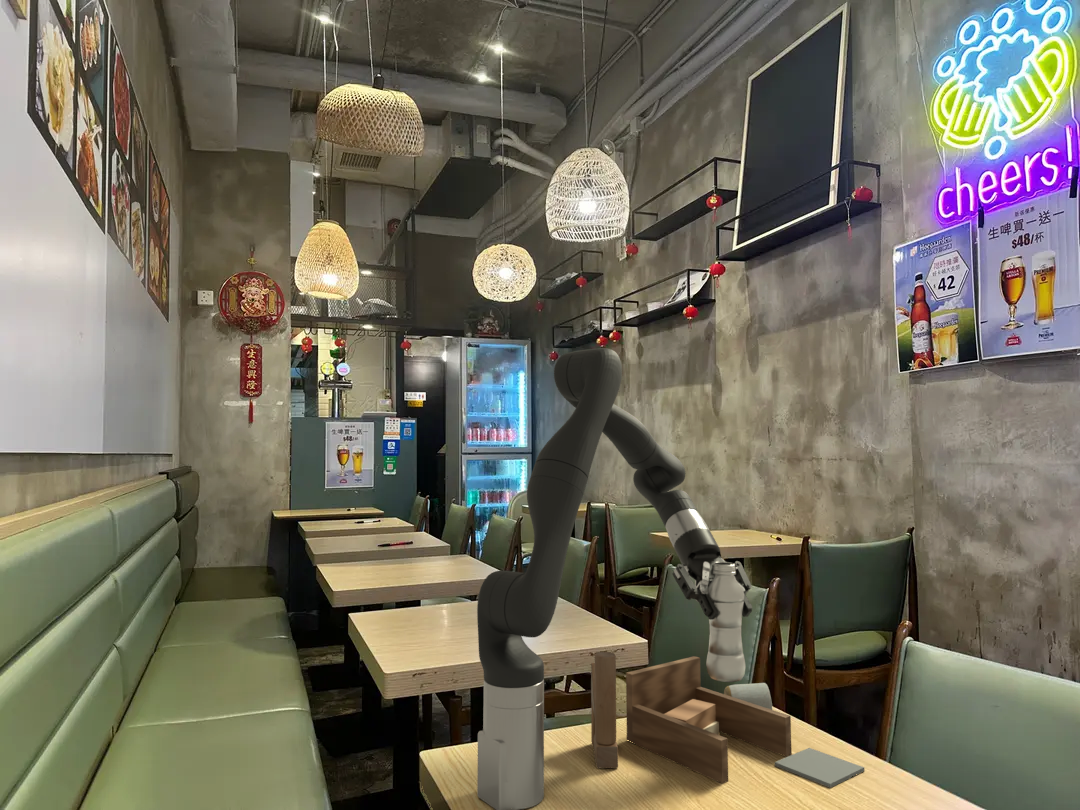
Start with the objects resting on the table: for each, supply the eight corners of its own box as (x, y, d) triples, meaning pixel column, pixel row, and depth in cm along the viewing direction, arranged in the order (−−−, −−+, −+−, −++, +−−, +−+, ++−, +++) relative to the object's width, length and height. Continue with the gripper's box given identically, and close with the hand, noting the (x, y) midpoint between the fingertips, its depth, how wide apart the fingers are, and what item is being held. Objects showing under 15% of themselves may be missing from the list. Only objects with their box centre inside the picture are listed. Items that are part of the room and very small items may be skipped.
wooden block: (611, 743, 128) (610, 640, 129) (618, 769, 117) (617, 657, 118) (590, 743, 128) (590, 640, 129) (596, 769, 117) (595, 657, 118)
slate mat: (830, 787, 110) (830, 783, 110) (774, 765, 118) (774, 762, 118) (864, 771, 116) (864, 767, 116) (809, 751, 124) (809, 747, 124)
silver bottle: (698, 678, 125) (696, 562, 126) (729, 673, 127) (727, 560, 129) (722, 688, 119) (720, 567, 120) (754, 683, 122) (751, 564, 123)
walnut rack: (722, 783, 112) (720, 704, 113) (626, 740, 129) (626, 672, 130) (791, 754, 123) (789, 683, 124) (695, 718, 140) (694, 656, 141)
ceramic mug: (722, 716, 141) (722, 677, 142) (764, 717, 141) (764, 678, 141) (733, 738, 131) (732, 695, 131) (778, 739, 130) (777, 696, 130)
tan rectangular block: (683, 758, 122) (682, 722, 122) (657, 749, 125) (656, 714, 126) (719, 739, 130) (719, 705, 131) (694, 731, 134) (693, 698, 134)
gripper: (666, 527, 129) (705, 605, 118) (731, 525, 135) (775, 600, 123) (651, 553, 134) (687, 631, 122) (715, 550, 139) (755, 625, 127)
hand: (731, 615), depth 123 cm, fingers closed on silver bottle, 6 cm apart
